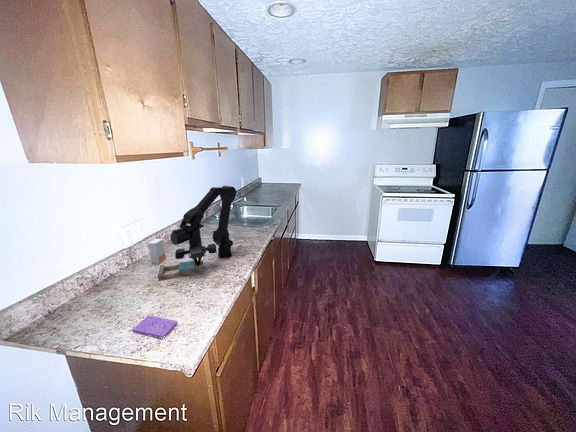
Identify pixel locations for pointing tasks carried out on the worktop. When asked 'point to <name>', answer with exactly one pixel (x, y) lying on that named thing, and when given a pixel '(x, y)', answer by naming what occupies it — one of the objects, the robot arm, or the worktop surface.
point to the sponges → (155, 326)
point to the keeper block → (186, 266)
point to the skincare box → (157, 251)
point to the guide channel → (177, 274)
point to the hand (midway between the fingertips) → (198, 266)
